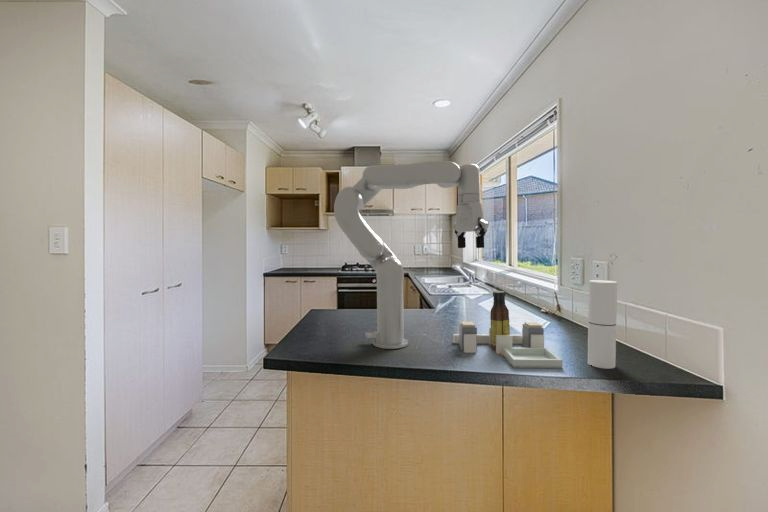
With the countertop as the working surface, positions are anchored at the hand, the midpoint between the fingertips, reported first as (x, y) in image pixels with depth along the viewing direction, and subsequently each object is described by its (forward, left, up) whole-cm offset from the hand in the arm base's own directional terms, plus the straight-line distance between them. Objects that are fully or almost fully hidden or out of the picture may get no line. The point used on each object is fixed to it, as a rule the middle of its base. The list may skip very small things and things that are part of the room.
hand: (470, 247), depth 130 cm
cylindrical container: (+35, -21, -35) cm, 54 cm away
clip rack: (+9, -6, -35) cm, 36 cm away
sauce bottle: (+9, -6, -35) cm, 37 cm away
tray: (+15, -19, -35) cm, 42 cm away
